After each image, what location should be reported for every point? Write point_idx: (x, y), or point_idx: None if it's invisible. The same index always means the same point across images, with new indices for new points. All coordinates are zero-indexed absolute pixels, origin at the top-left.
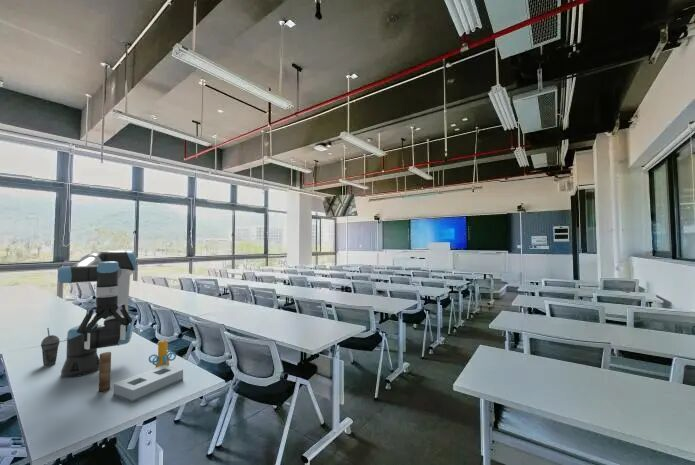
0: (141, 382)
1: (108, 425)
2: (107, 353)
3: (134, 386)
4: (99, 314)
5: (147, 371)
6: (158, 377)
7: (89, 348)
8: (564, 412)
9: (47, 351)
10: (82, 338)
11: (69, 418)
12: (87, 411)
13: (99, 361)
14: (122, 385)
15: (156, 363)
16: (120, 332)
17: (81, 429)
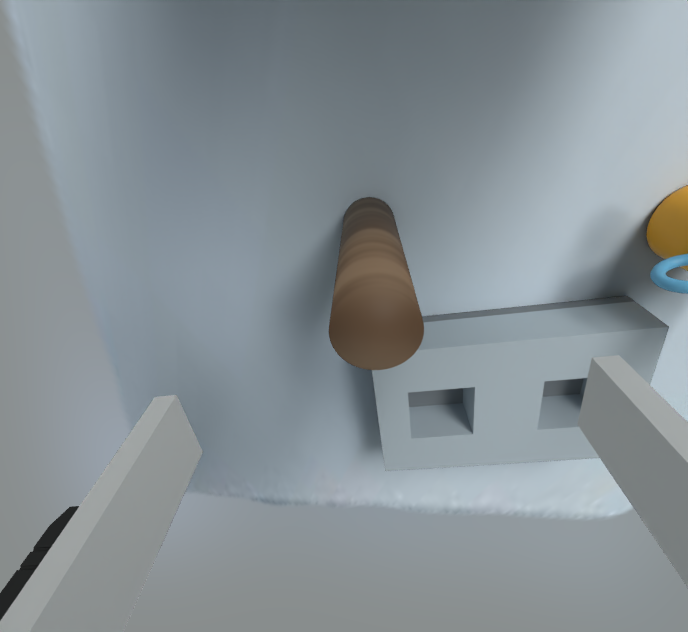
0: (444, 436)
1: (286, 488)
2: (388, 344)
3: (406, 448)
4: None
5: (548, 344)
6: (512, 447)
7: (198, 456)
8: None
9: None
10: (32, 567)
11: (211, 374)
12: (263, 373)
13: (333, 296)
14: (383, 405)
15: (677, 266)
16: (668, 449)
17: (231, 458)
